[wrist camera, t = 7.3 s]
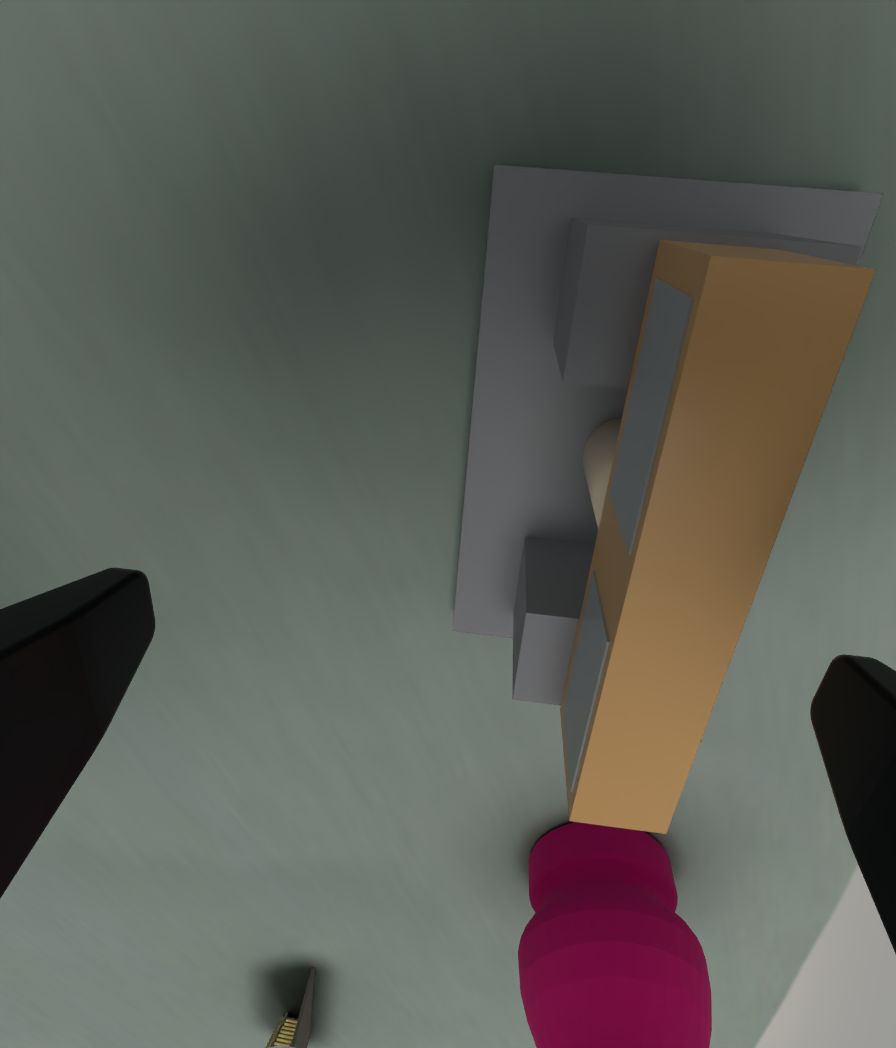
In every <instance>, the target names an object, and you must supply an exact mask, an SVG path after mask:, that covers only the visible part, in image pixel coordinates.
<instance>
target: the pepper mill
mask: <svg viewBox="0 0 896 1048" xmlns="http://www.w3.org/2000/svg"><path fill="white" fill-rule="evenodd" d="M529 896H530V902H531V905H532V908H533V909H534V911H535V912H536V913H535V915H534V916H533V917H532V919H531V920H530V921H529V923H528V924H527V926H526V927H525V930H524V932H523V934H522V936H521V940H520V944H519V950H518V960H519V975H520V990H521V996H522V1000H523V1005H524V1009H525V1013H526V1017H527V1021H528V1024H529V1027H530V1030H531V1033H532V1036H533V1038H534V1041H535V1044H536V1047H537V1048H709V1045H710V1038H711V1031H712V1017H711V988H710V982H709V976H708V970H707V964H706V959H705V956H704V953H703V950H702V947H701V945H700V943H699V941H698V939H697V937H696V936H695V934H694V933H693V932H692V930H691V929H690V928H689V926H688V925H687V924H686V922H685V921H684V920H683V919H682V918H681V917H679V916H678V915H677V914H676V913H675V910H676V907H677V892H676V887H675V883H674V878H673V874H672V869H671V865H670V860H669V858H668V855H667V853H666V851H665V850H664V848H663V847H662V846H661V845H660V844H659V843H658V842H657V840H656V839H655V838H653V837H652V836H650V835H649V834H647V833H646V832H644V831H640V830H632V829H625V828H618V827H610V826H603V825H595V824H588V823H580V822H573V823H569V824H566V825H564V826H561V827H559V828H556V829H554V830H552V831H551V832H549V833H548V834H546V835H545V836H543V837H542V838H541V839H540V840H539V841H538V842H537V843H536V845H535V846H534V848H533V850H532V852H531V854H530V858H529Z"/></svg>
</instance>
